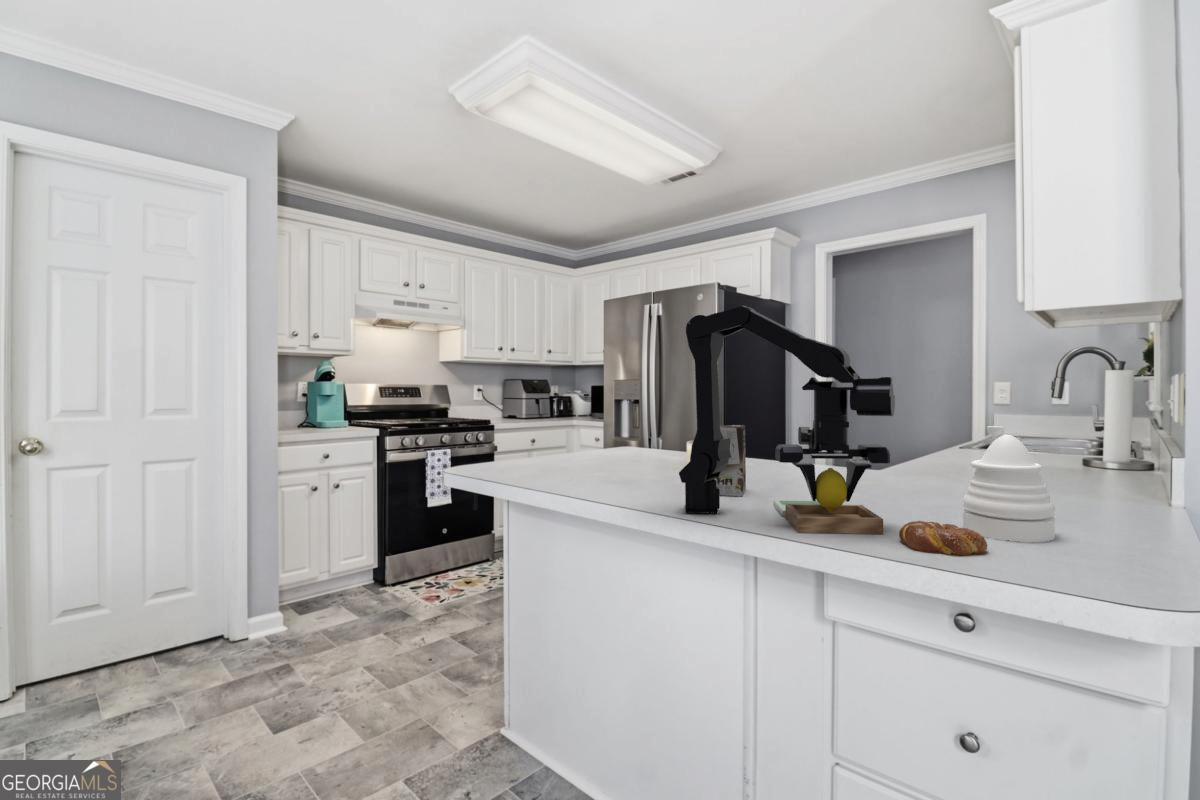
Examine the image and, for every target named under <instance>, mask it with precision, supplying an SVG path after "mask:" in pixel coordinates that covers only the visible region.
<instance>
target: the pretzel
mask: <svg viewBox="0 0 1200 800" xmlns="http://www.w3.org/2000/svg"><path fill="white" fill-rule="evenodd" d="M898 537H899V539H900V542H901V543H903V544H904V545H907V546H908V547H909V548H911V549H913V550H914V549H915V550H914V551H919V552H922V551H923V553H930V552H933V553H934V554H941V553H942V554H944V555H955V554H956V555H957V556H969V555H972V554H974V553H975V554H976V555H980V553H981V554H984V553H986V551H987V550H988V542H987V540H986V538H985V537H983V536H981V535H980V534H979V533H977V532H975V531H973V530H970V529H968V528H963V527H959V526H957V525H955V524H950V523H943V524H941V523H939V522H934V521H924V520H917V521H910V522H908V523H906V524H904V525H902V527H901V528H900V530H899V534H898ZM952 553H954V554H952ZM956 555H955V556H956Z"/></svg>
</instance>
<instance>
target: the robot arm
mask: <svg viewBox="0 0 1200 800" xmlns="http://www.w3.org/2000/svg"><path fill="white" fill-rule="evenodd" d="M743 329H744V330H747V331H750V333H753V334H755V335H756V336H759V337H760V338H763V339H764V340H766V341H768V342H770V343H772V344H774V345H775V346H777V347H779V348H781V349H783V350H785V351H787V352H789V353H790V354H792V355H793V356H794V357H796V359H798V360H799V362H801V363H802V364H803V365H804V366H806V368H808V369H810V370H811V371H812V372H813V373H814V374H815V375H817V376H819V377H821V378H826V379H834V380H832V381H831V380H830V381H829V380H824V381H823V380H821V381H820V380H818V379H817V378H816V377H810V378H809V380H808V381H807V382H806V383H805V384H804V385H802V387H801V389H802V390H803V391H813V420H812V428H811V427H809V426H799V427H798V428H797V430H798V435H797V440H798V444H796V443H795V444H789V443H787V444H782V443H781V444H777V445H776V447H775V452H774V455H775V460H777V462H779V463H784V464H785V463H787V464H788V463H789V464H790V463H791V464H792V465H793V466H794V467H796V468H799V470H800V471H801V473H802V476H803V477H804V480H805V483H806V485H807V489H808V492H809V495H810V497H811V500H813V501H816V467H815V464H813V462H812V459H814V460H815V459H819V460H820V459H821V460H822V459H826V460H828V459H830V460H831V459H832V460H833V459H835V460H836V459H837V460H838V459H844V460H845V467H846V477H845V482H846V486H847V496H846V499H845V502H846V503H847V502H848V503H849V502H850V501H851V499H852V496H853V494H854V492H855V489H856V488H857V485H858V483H859V481H860V480H861V478H862V476H863V475H864V473H865V471H866V470H867V469H872V467H873V465H872V464H890V463H891V454H890V450H889V449H888V448H887V447H886V446H882V445H881V444H858V445H857V448H850V445H849V443H848V442H849V441H848V438H849V436H848V434H849V433H848V431H849V429H848V428H849V427H850V421H848V420H849V419H848V417H849V412H848V411H849V409H848V405H849V407H850V411H856V416H858V417H894V414H895V406H896V396H895V394H894V386H893V385H894V384H893V377H892V376H885V377H884V376H882V377H878V378H875V377H873V378H872V377H871V378H870V377H869V378H862V377H861V376H860V375H859V373H857V371H855V369H854V368H853V367H852V366H851V359H850V355H849V353H848V351H846V350H845V349H844V348H841V347H839V346H836V345H833V344H829V343H826V342H822V341H819V340H816V339H813V338H808V337H807V336H804V335H802V334H800V333H799V332H796V331H794V330H792V329H790V328H789V327H786V326H785V325H783V324H781V323H779V322H777V321H775V320H773V319H771V318H769V317H767V316H765V315H763V314H761V313H760V312H757V311H756V309H754V308H752V307H750V306H747V305H738V306H736V307H734V308H731V309H728V310H723V311H720V312H715V313H712V314H709V315H704V314H698V315H697V314H696V315H695V316H693V317H691V318H690V319H689V321H687V323H686V325H685V334H686V335H685V336H686V340H687V345H688V348H689V351H690V353H691V355H692V358H693V360H694V375H695V377H694V380H695V403H696V404H695V406H696V407H695V410H696V411H695V412H696V413H695V414H696V432H695V435H694V438H693V442H692V444H691V449H690V450H691V451H690V456H689V457H690V458H689V462H687V463H686V465H685V466H684V467H682V469H681V470H680V471H679V472H678V475H679V478H680V481H681V483H682V484H684V487H685V488H684V490H685V491H684V496H685V497H684V498H685V499H684V500H685V501H684V502H685V504H684V513H685V514H718V513H719V511H718V510H719V509H720V507H721V506H720V504H721V502H720V501H721V499H720V497H721V495H720V493H719V487H716V479H718V478H719V476H720V473H721V471H722V470H724V468H725V467H726V466H727V465H728V461H729V458H732V456H731V454H730V438H726V439H724V438H723V436H722V433H721V431H720V425H721V423H720V422H721V420H720V419H721V418H720V392H719V389H720V388H719V363H718V361H719V358H720V355H721V352H722V349H723V345H724V338H725V337H728V336H731V335H734V334H735V333H737V332H740V331H742V330H743ZM835 380H836V381H837V382H839V383H841V384H852V386H849V387H848V386H837V383H836V382H835ZM848 391H849V392H848ZM848 397H849V399H848ZM848 400H849V401H848ZM810 428H811V429H810ZM801 445H808V448H803V446H801ZM846 459H847V460H846ZM870 463H871V464H870Z"/></svg>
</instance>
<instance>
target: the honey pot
mask: <svg viewBox="0 0 1200 800" xmlns="http://www.w3.org/2000/svg"><path fill="white" fill-rule="evenodd" d="M986 430H987V433H988V435H989V436H990V437H992V438H993V439H994V440H993V441H992V442H991V443H990V444H989V445H988V447H987V449H986V450H985V451H984V452H983V454H982V457H981V458H980V459H976V460H975V459H974V460H972V461H970V466H971V467H972V468H974V469H975V471H974V473H973V476H972V477H971V479H970V480H969V486H968V487H967V492H966V494H965V495H964V496H963V499H962V502H963V504H962V528H968V529H970V530H973V531H975V532H977V533H979V534H980V535H981V536H983V537H984V538H985V537H988V538H987V539H990V538H993V539H992V540H996V539H1000V540H999V541H1003V540H1009V541H1008V542H1013V541H1020V542H1019V543H1029V542H1034V543H1046V542H1045V541H1048V542H1051V541H1050V540H1052V541H1054V540H1055V536H1056V535H1055V534H1056V533H1055V532H1056V525H1055V524H1056V521H1055V520H1056V519H1055V517H1054V516H1055V511H1056V509H1055V504H1054V503H1053V501H1052V500H1051V499H1050V498H1051V495H1050V493H1049V492H1048V490H1047V488H1048V485H1047V484H1046V483H1045V481H1044V480H1043V477H1042V474H1041V473H1040V471H1042V469H1043V466H1042V465H1041V464H1039V463H1037V462H1035V460H1034V458H1033V456H1032V454H1031V453H1030V452H1029V449H1028V448H1027V447H1026V446H1025V444H1023V442H1022V441H1021V440H1020V439H1019V438H1017V437H1015V436H1014V435H1011V434H1004V433H1005V426H1000V425H994V426H993V425H989V426H986ZM1053 539H1054V540H1053Z"/></svg>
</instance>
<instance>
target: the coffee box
mask: <svg viewBox="0 0 1200 800" xmlns="http://www.w3.org/2000/svg"><path fill="white" fill-rule="evenodd" d="M720 431H721V433H722V436H723V438H724V439H726V438H730V454H731V456H732V458H729V461H728V465H727V466H726V467H725V468H724V470H722V471H721V473H720V476H719V478H718V479H715V480H716V487H719V493H720V496H726V497H727V496H728V497H743V496H744V494H745V493H746V490H747V489H746V488H747V482H746V480H747V478H746V477H747V475H746V474H747V473H746V472H747V471H746V469H747V468H746V464H747V463H746V425H745V424H732V425H731V424H729V425H728V424H727V425H721V424H720Z"/></svg>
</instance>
